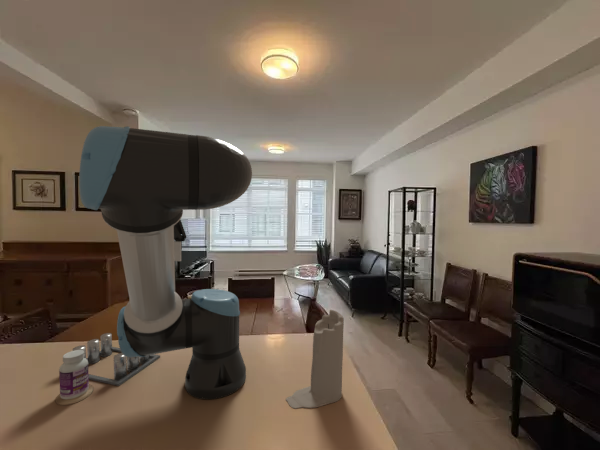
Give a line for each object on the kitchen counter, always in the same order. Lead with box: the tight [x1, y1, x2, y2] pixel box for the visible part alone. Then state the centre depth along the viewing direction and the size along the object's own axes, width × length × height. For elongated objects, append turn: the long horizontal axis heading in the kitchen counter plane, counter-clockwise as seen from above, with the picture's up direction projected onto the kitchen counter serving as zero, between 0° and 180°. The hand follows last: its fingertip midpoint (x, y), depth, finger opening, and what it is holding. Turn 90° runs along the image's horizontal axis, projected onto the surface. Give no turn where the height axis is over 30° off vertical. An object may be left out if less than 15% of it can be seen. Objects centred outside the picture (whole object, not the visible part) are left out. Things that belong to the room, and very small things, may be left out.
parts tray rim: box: [86, 346, 161, 387], centre depth 80 cm, size 19×14×1 cm
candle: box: [285, 309, 344, 409], centre depth 67 cm, size 7×14×20 cm, turn 113°
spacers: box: [72, 332, 151, 381], centre depth 79 cm, size 17×11×6 cm, turn 75°
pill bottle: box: [58, 350, 90, 400], centre depth 67 cm, size 5×5×10 cm
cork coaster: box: [55, 383, 94, 406], centre depth 67 cm, size 7×7×1 cm
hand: (162, 265), depth 88 cm, fingers open, 13 cm apart
